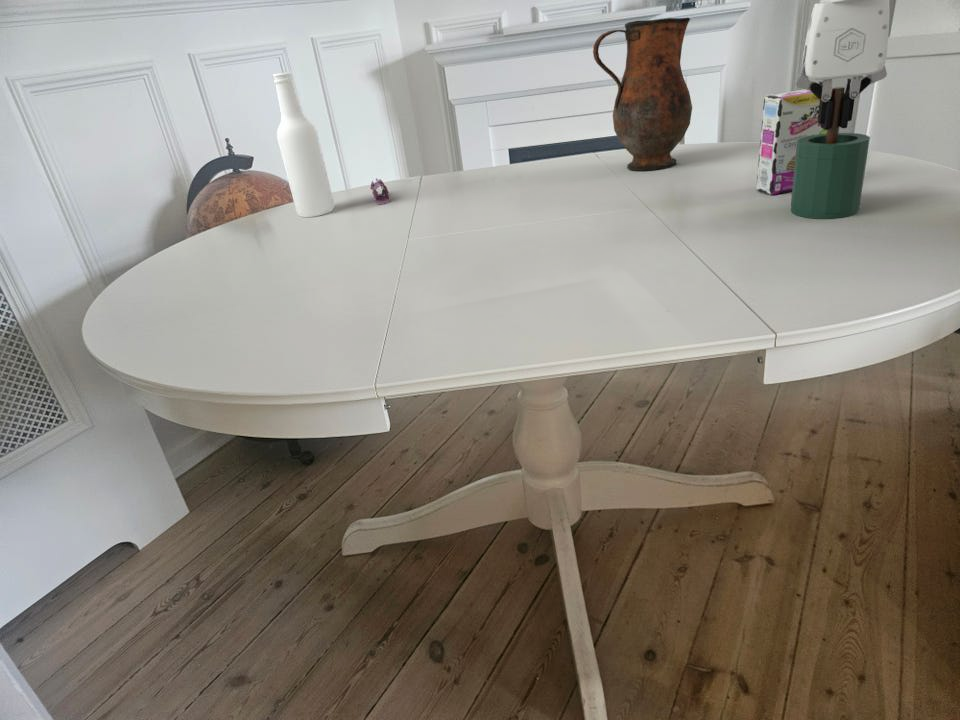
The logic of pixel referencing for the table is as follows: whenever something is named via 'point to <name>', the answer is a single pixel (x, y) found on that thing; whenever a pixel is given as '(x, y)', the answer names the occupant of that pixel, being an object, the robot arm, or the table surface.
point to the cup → (829, 176)
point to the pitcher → (651, 92)
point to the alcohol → (301, 153)
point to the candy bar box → (784, 137)
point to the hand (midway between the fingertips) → (833, 126)
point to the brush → (835, 115)
